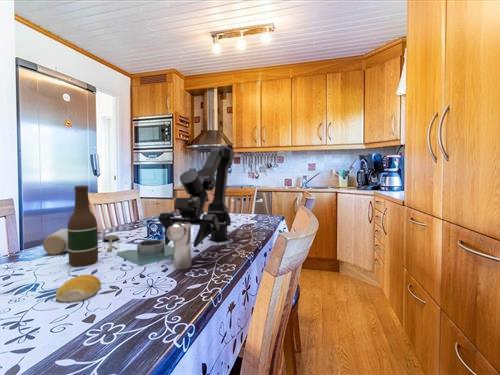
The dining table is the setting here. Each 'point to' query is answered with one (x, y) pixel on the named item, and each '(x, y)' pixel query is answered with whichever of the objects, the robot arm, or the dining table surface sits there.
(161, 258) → the duct collar
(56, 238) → the beige cylinder
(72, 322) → the dining table surface
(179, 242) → the metal bottle
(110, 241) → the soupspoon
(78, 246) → the beer bottle
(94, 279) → the bread roll
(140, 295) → the dining table surface
